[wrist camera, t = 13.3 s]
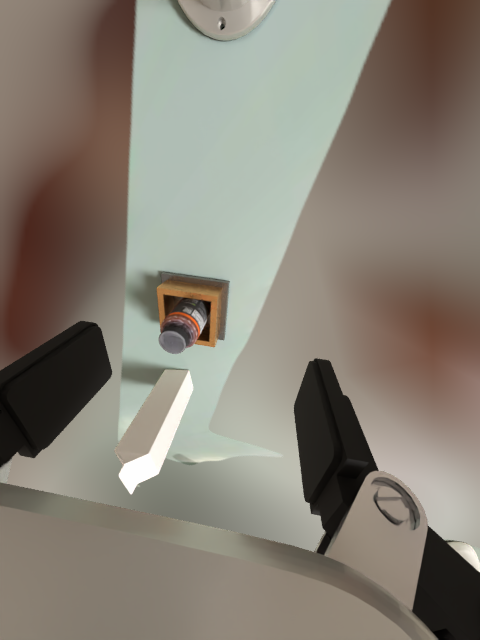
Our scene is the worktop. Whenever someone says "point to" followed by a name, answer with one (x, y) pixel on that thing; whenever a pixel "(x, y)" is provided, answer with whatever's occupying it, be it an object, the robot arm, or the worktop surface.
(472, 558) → the vodka
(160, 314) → the square wooden tray
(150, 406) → the milk
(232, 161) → the worktop surface
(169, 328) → the supplement bottle
